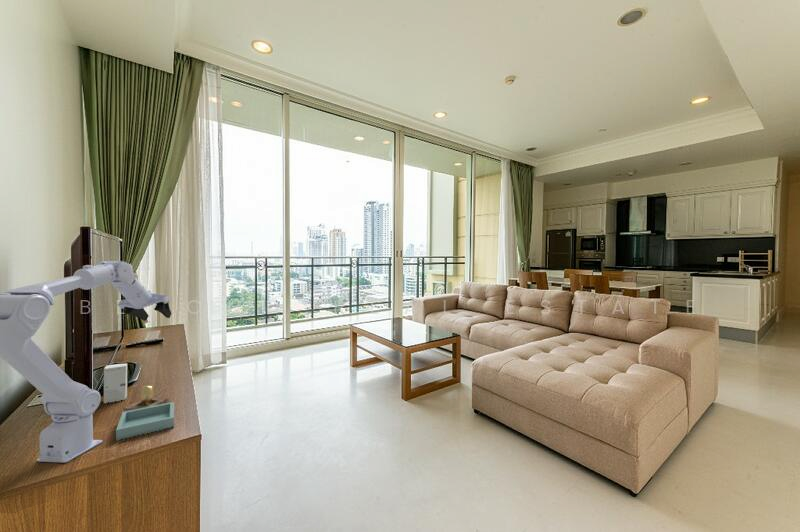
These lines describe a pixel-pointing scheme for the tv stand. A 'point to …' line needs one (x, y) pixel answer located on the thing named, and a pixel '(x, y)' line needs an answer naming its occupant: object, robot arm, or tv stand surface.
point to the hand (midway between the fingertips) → (158, 317)
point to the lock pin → (146, 395)
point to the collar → (138, 405)
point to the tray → (145, 420)
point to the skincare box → (115, 382)
